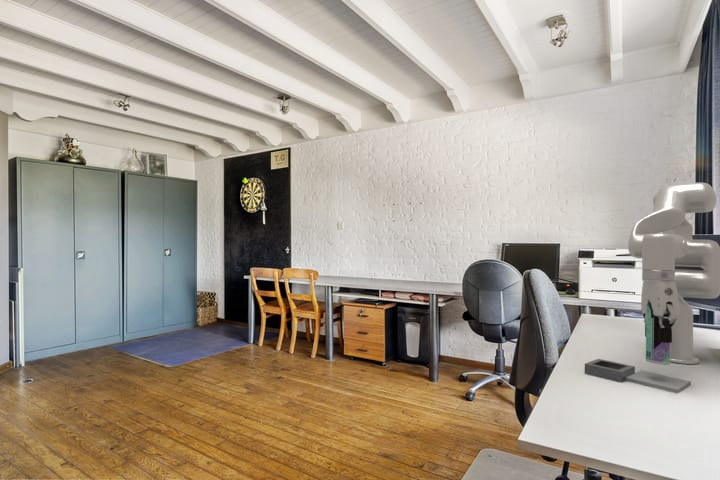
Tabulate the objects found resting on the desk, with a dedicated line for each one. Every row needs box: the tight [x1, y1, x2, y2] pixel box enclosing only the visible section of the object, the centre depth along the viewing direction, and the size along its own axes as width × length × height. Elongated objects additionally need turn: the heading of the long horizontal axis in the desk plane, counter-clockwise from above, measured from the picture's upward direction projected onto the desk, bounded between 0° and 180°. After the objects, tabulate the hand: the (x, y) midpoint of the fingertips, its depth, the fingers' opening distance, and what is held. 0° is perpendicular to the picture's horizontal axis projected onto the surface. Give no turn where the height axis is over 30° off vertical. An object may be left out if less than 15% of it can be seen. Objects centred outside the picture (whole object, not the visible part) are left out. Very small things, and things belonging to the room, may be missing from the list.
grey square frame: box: [584, 358, 636, 384], centre depth 119 cm, size 10×10×3 cm
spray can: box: [645, 300, 671, 366], centre depth 113 cm, size 6×6×20 cm
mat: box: [625, 370, 692, 394], centre depth 113 cm, size 12×12×1 cm
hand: (658, 339), depth 113 cm, fingers closed on spray can, 5 cm apart
